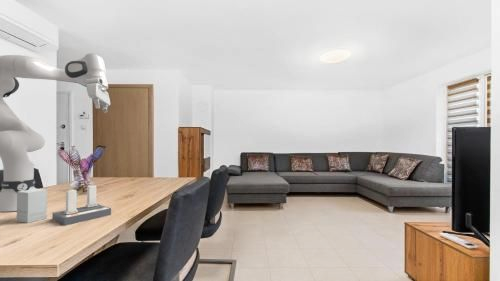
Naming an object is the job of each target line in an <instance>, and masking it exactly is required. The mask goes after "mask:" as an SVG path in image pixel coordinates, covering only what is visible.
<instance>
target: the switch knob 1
mask: <svg viewBox="0 0 500 281" xmlns="http://www.w3.org/2000/svg"><path fill="white" fill-rule="evenodd" d="M77 192H78V191H77V190H76V189H72V190H71V189H70V190H65V210H66V211H64V210H63V211H64V214H72V213H77V212H78V210H76V208H77V199H78V198H77V197H78V195H77Z"/></svg>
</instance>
